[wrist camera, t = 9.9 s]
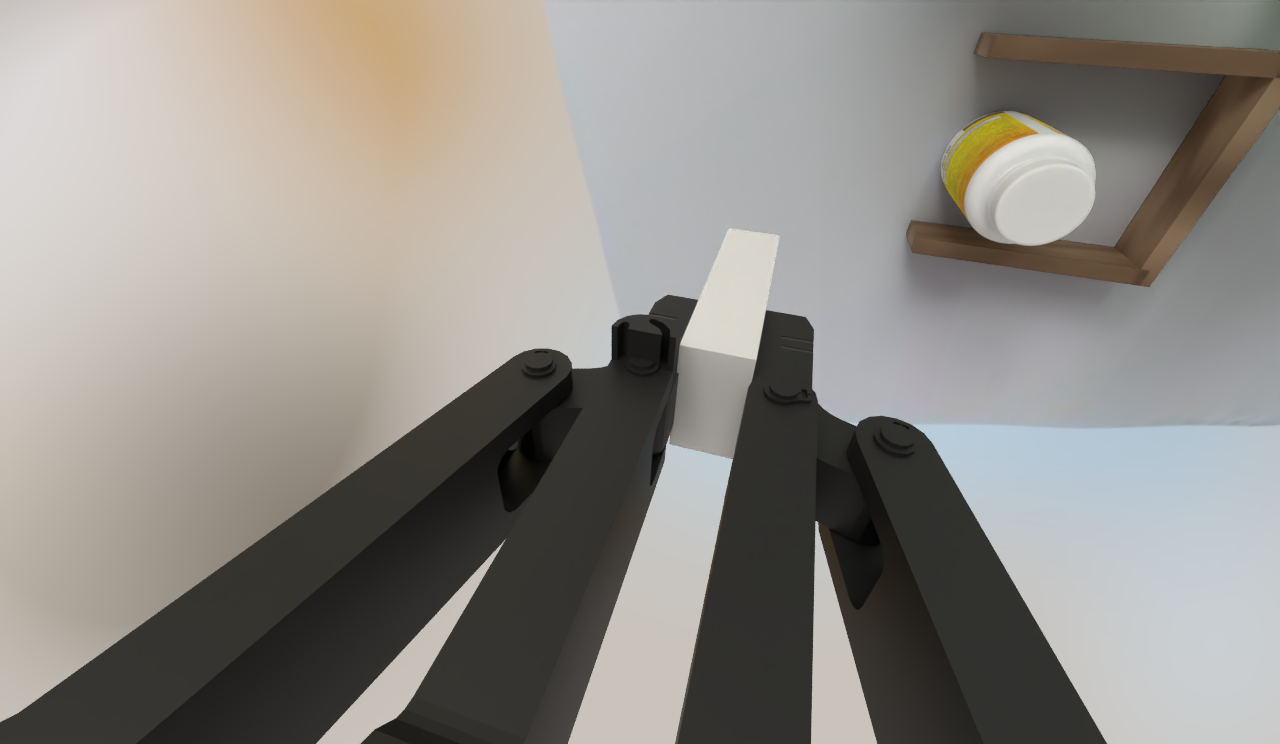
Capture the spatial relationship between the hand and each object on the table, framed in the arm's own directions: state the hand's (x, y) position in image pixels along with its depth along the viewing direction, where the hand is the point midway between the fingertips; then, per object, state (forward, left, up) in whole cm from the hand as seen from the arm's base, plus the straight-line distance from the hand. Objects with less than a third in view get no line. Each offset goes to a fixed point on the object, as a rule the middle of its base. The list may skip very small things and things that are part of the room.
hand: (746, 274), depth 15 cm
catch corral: (0, +16, -24) cm, 29 cm away
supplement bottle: (+1, +13, -25) cm, 28 cm away
